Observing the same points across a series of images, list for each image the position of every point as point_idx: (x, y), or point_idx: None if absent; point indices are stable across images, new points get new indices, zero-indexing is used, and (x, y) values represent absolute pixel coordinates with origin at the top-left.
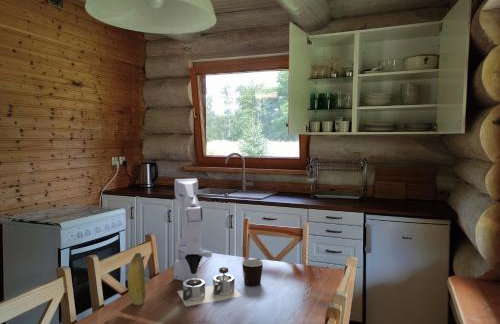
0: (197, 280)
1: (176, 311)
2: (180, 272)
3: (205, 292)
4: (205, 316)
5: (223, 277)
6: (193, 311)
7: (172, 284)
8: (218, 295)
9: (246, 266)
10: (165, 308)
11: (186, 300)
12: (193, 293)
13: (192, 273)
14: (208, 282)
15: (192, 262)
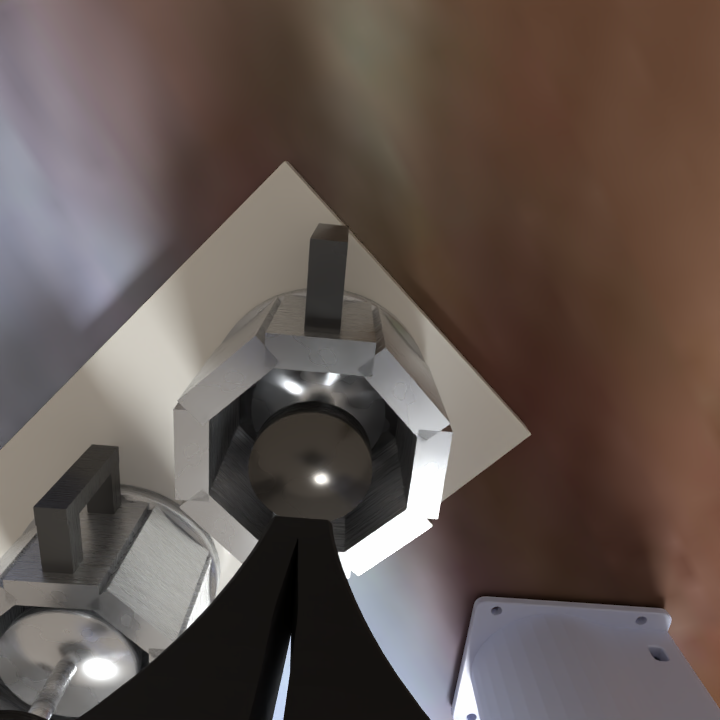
0: None
1: (350, 74)
2: (634, 695)
3: None
4: (12, 80)
5: (53, 676)
6: (187, 140)
7: (645, 561)
8: None
9: None
10: (494, 96)
11: (345, 285)
12: (258, 319)
13: (302, 521)
14: None
15: (221, 678)
